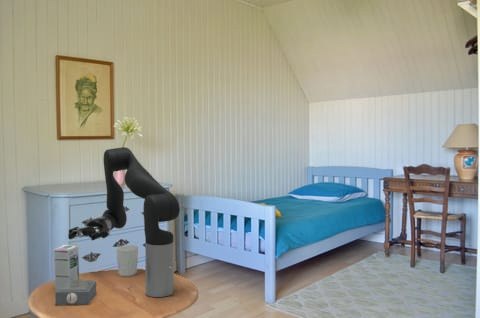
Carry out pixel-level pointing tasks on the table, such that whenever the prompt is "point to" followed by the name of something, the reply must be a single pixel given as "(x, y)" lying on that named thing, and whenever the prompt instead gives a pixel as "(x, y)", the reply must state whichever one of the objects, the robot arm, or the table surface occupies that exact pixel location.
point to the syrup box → (66, 264)
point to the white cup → (127, 260)
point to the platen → (76, 285)
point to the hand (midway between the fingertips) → (81, 237)
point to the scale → (75, 296)
